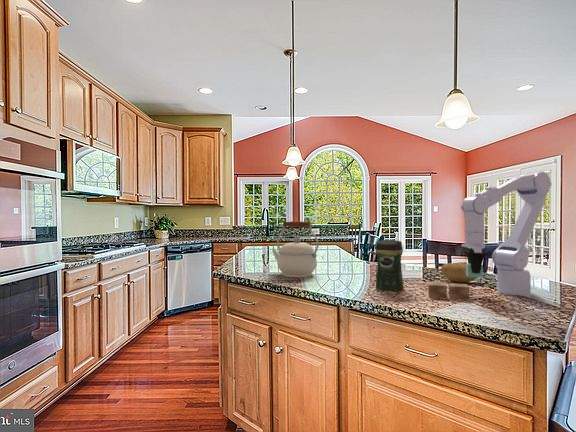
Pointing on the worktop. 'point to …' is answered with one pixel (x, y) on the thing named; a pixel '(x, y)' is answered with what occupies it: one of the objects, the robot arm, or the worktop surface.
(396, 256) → the coffee jar
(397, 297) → the worktop surface
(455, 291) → the walnut block
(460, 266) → the potato
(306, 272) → the kettle
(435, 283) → the walnut block
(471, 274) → the teal block
